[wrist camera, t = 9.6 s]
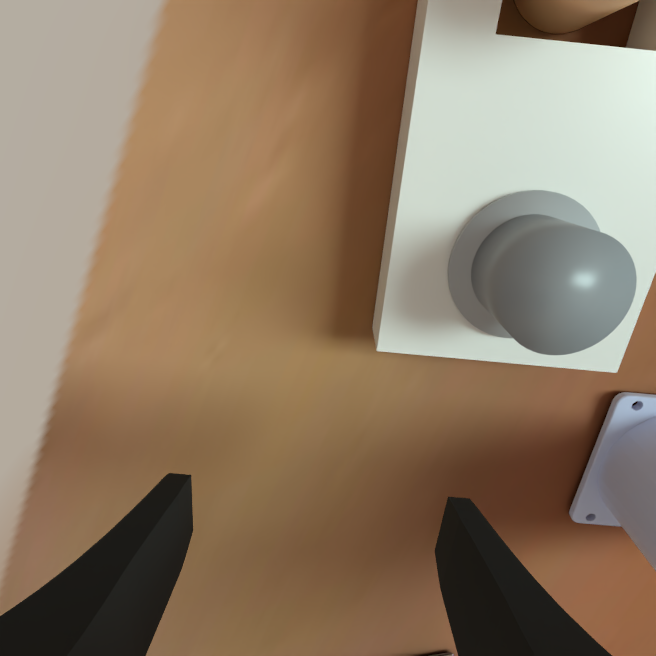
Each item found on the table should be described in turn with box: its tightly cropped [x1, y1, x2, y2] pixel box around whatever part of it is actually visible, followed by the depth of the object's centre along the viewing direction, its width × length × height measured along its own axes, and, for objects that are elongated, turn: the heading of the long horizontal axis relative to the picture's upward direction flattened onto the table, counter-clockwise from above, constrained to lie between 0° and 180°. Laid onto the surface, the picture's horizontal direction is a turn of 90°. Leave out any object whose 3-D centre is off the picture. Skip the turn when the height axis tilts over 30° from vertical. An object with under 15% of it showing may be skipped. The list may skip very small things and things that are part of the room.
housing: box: [372, 0, 656, 373], centre depth 14 cm, size 10×18×6 cm, turn 175°
